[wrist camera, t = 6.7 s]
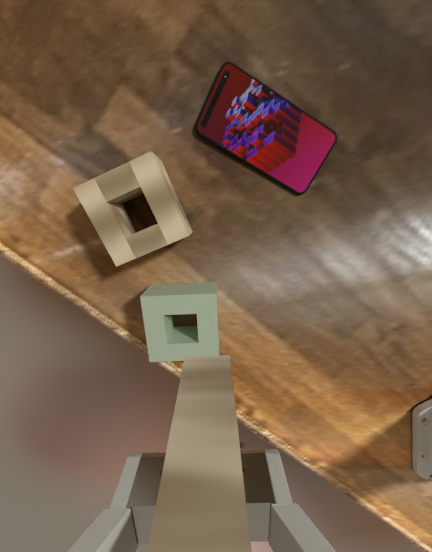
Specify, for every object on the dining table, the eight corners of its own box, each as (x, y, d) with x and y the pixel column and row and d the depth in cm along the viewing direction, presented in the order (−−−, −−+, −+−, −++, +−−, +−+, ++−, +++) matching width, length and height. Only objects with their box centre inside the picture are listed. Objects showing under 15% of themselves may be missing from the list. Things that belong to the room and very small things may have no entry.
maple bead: (192, 232, 29) (188, 235, 25) (130, 258, 30) (116, 266, 26) (161, 160, 27) (151, 151, 23) (95, 191, 28) (72, 188, 23)
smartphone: (302, 197, 28) (192, 131, 26) (300, 198, 29) (192, 133, 26) (341, 134, 26) (225, 56, 24) (337, 136, 27) (224, 61, 25)
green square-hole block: (218, 340, 34) (219, 359, 29) (157, 342, 34) (149, 361, 29) (216, 281, 31) (216, 293, 27) (150, 284, 31) (140, 296, 27)
